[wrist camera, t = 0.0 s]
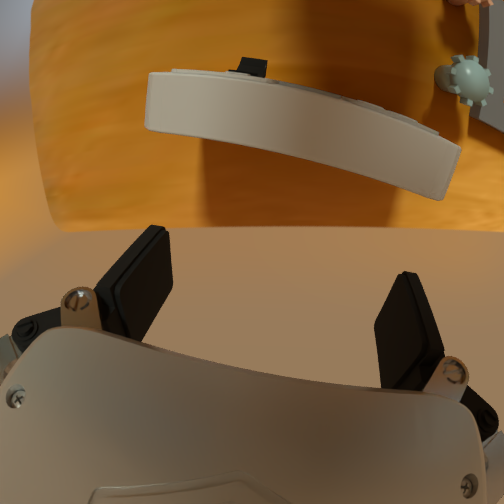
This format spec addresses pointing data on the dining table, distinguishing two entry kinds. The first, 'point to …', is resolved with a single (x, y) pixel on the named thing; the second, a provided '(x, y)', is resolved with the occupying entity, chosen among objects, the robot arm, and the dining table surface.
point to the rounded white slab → (301, 125)
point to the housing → (492, 64)
